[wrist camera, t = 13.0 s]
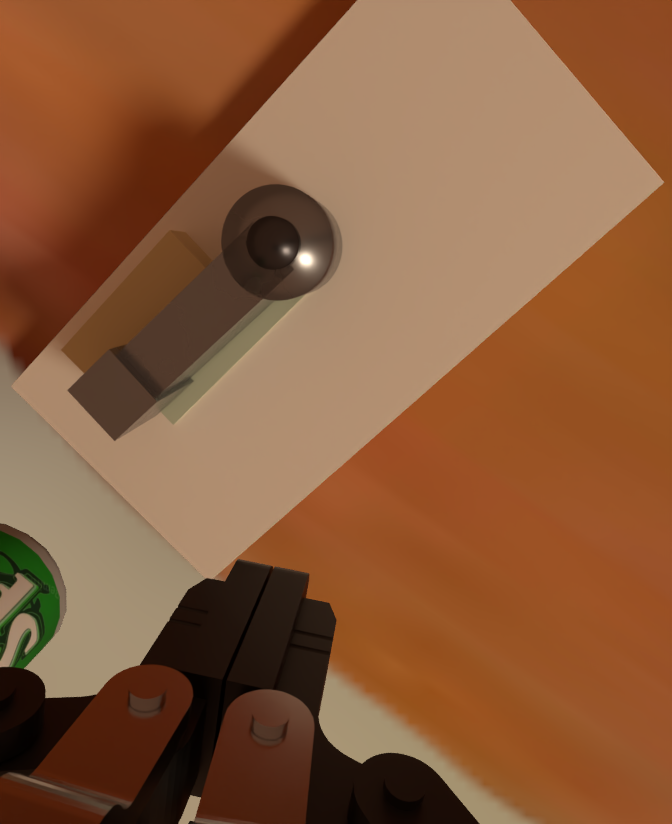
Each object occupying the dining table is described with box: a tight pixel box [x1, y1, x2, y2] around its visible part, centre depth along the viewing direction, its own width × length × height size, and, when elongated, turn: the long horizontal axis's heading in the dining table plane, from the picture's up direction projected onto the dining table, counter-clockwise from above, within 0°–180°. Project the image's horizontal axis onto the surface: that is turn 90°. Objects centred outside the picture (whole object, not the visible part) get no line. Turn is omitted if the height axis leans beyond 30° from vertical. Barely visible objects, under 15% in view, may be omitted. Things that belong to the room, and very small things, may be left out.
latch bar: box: [67, 184, 342, 441], centre depth 25 cm, size 12×4×4 cm, turn 132°
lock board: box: [11, 0, 664, 579], centre depth 26 cm, size 26×13×3 cm, turn 134°
